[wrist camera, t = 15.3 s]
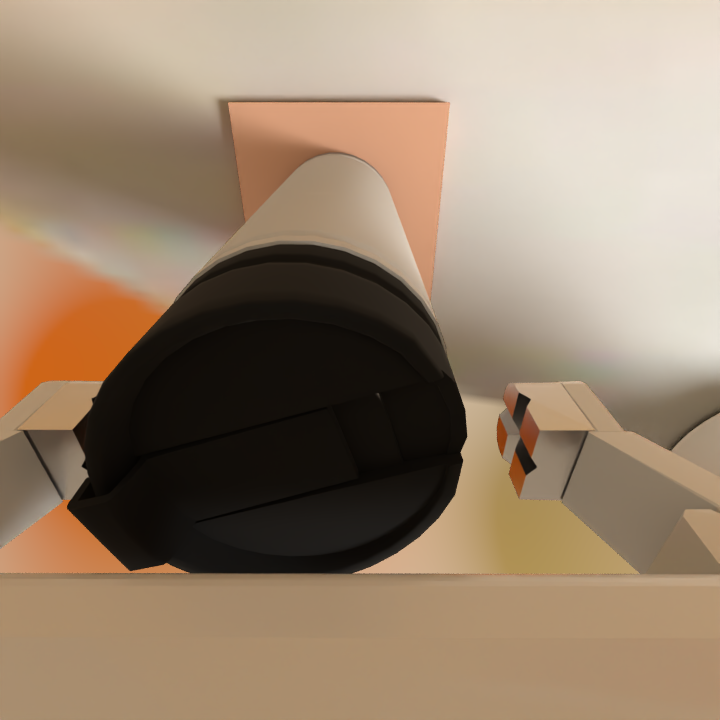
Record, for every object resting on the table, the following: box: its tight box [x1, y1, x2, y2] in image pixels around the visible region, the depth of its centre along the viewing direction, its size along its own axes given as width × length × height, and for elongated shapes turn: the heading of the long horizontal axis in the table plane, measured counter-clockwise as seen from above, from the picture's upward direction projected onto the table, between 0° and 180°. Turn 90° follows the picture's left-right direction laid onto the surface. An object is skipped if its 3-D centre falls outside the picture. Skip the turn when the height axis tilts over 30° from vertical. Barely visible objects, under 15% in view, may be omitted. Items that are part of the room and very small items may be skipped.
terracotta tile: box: [228, 102, 450, 300], centre depth 24 cm, size 11×11×1 cm
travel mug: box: [67, 152, 467, 574], centre depth 15 cm, size 6×7×20 cm
